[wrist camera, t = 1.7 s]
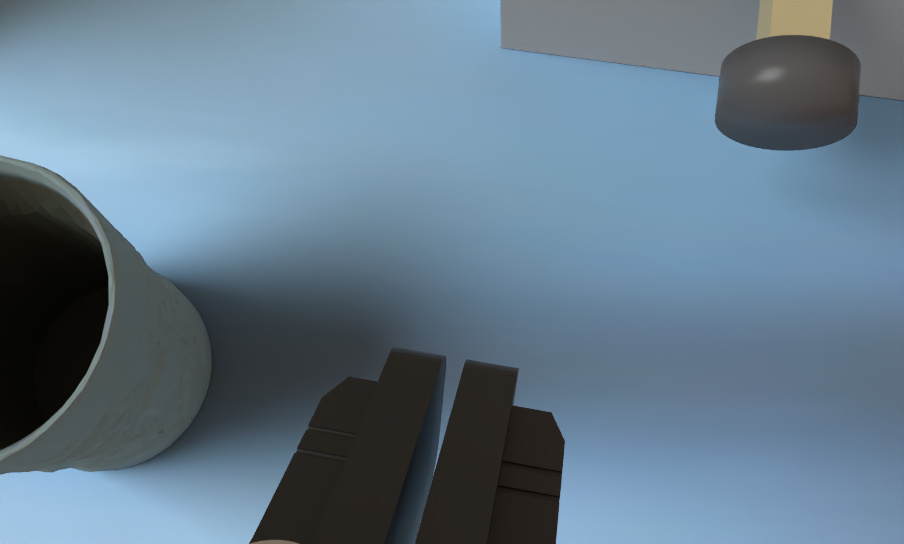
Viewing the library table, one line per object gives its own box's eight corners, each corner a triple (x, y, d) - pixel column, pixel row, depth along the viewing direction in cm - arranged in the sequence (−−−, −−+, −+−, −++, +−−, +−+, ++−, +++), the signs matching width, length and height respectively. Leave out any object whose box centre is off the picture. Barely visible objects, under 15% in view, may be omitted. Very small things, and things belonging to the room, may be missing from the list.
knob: (702, 140, 32) (733, 81, 27) (723, -43, 34) (755, -126, 29) (828, 157, 31) (880, 100, 27) (842, -29, 33) (893, -111, 29)
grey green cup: (-25, 329, 38) (-259, 251, 26) (176, 216, 39) (35, 92, 27) (64, 534, 35) (-153, 549, 24) (278, 408, 36) (169, 361, 24)
